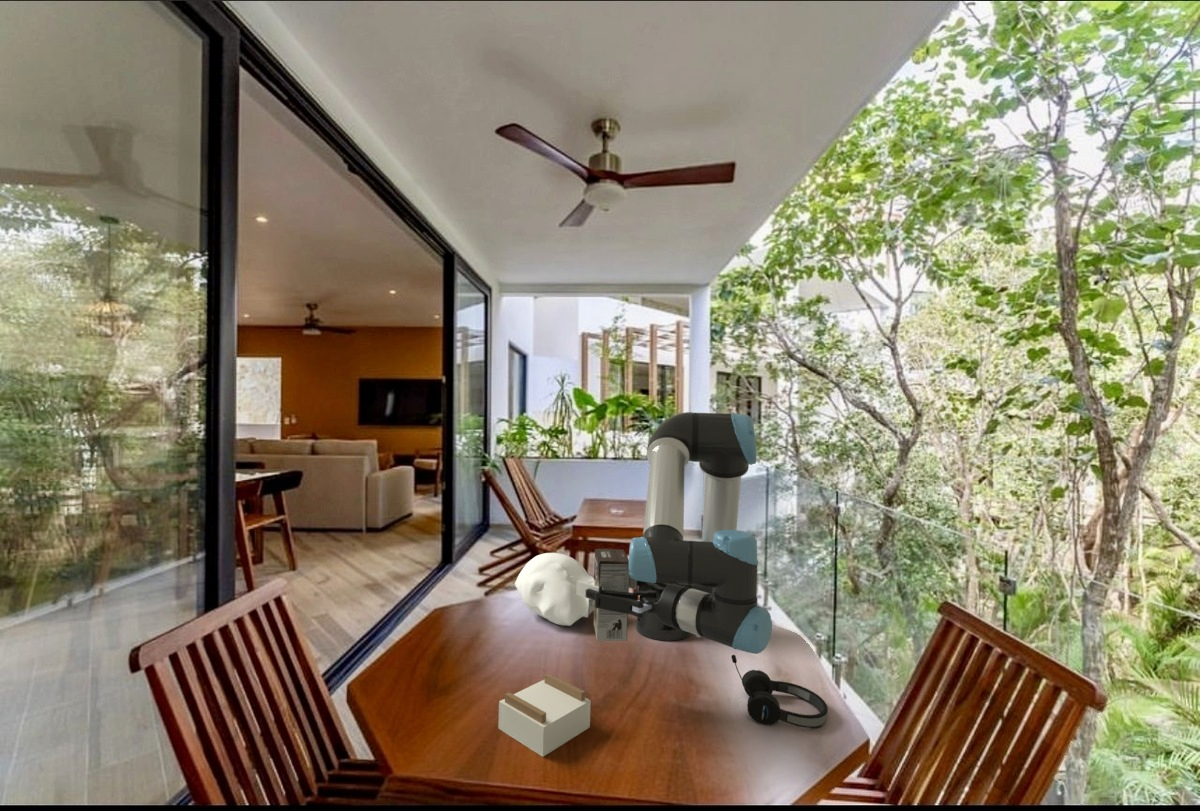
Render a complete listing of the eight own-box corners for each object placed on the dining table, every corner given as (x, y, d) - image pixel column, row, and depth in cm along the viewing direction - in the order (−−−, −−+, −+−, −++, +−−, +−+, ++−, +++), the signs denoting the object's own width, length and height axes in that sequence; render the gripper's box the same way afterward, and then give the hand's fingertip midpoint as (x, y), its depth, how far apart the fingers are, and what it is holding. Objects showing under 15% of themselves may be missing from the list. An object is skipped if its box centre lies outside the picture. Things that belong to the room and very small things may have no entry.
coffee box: (592, 623, 115) (594, 548, 116) (622, 623, 116) (624, 548, 116) (595, 642, 106) (597, 560, 106) (628, 641, 107) (630, 560, 107)
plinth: (545, 703, 109) (546, 670, 109) (589, 727, 101) (590, 692, 101) (498, 728, 100) (499, 693, 100) (542, 757, 92) (543, 718, 92)
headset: (729, 643, 117) (822, 662, 114) (723, 685, 117) (816, 705, 114) (735, 672, 104) (839, 694, 101) (728, 719, 104) (832, 743, 101)
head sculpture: (569, 656, 143) (500, 613, 156) (609, 614, 159) (543, 579, 171) (573, 604, 137) (501, 564, 149) (614, 565, 153) (546, 532, 165)
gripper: (648, 649, 91) (556, 613, 105) (715, 612, 108) (628, 586, 123) (649, 604, 91) (557, 575, 105) (716, 575, 108) (629, 553, 123)
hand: (595, 581), depth 114 cm, fingers closed on coffee box, 10 cm apart
